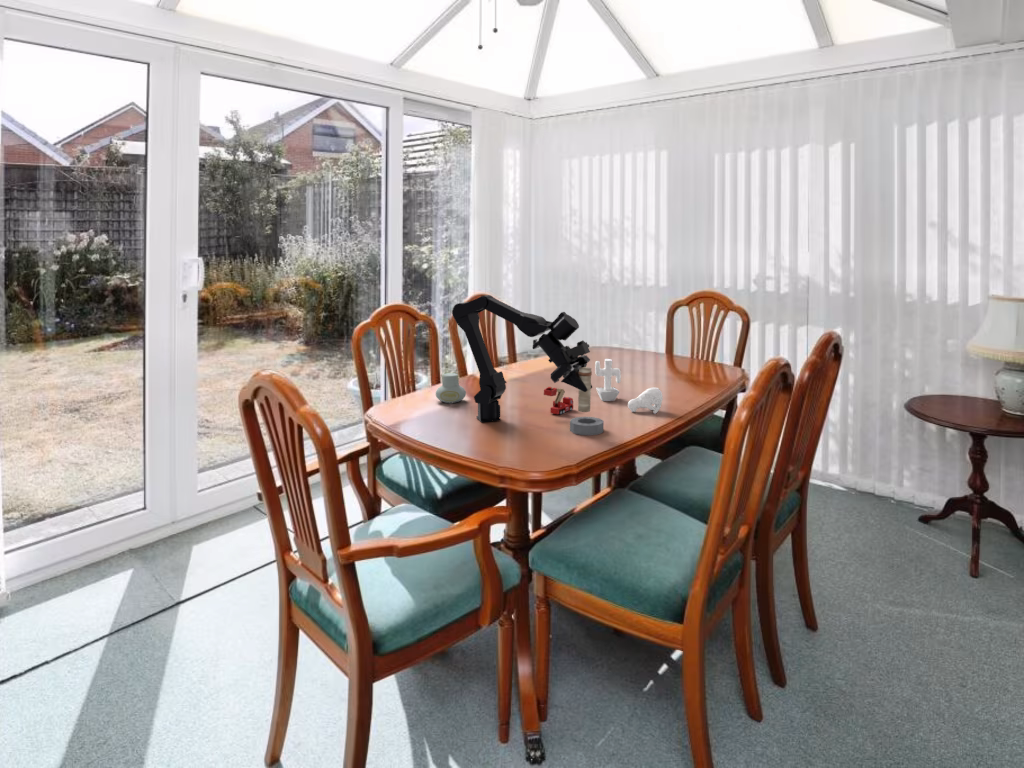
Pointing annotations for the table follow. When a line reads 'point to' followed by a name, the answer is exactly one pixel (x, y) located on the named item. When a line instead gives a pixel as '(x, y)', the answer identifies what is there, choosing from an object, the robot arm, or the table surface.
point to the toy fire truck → (557, 405)
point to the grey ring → (586, 425)
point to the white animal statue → (647, 400)
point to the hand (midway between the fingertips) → (588, 389)
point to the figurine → (607, 380)
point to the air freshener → (450, 389)
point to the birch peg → (586, 396)
